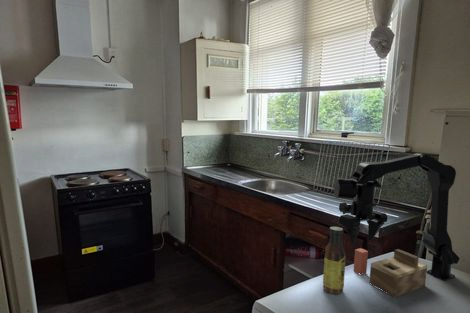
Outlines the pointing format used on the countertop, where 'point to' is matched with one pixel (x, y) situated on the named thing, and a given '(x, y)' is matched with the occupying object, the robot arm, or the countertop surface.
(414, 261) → the lid
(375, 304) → the countertop surface
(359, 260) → the block
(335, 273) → the sauce bottle
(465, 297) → the countertop surface
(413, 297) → the countertop surface
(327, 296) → the countertop surface
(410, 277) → the wooden box
